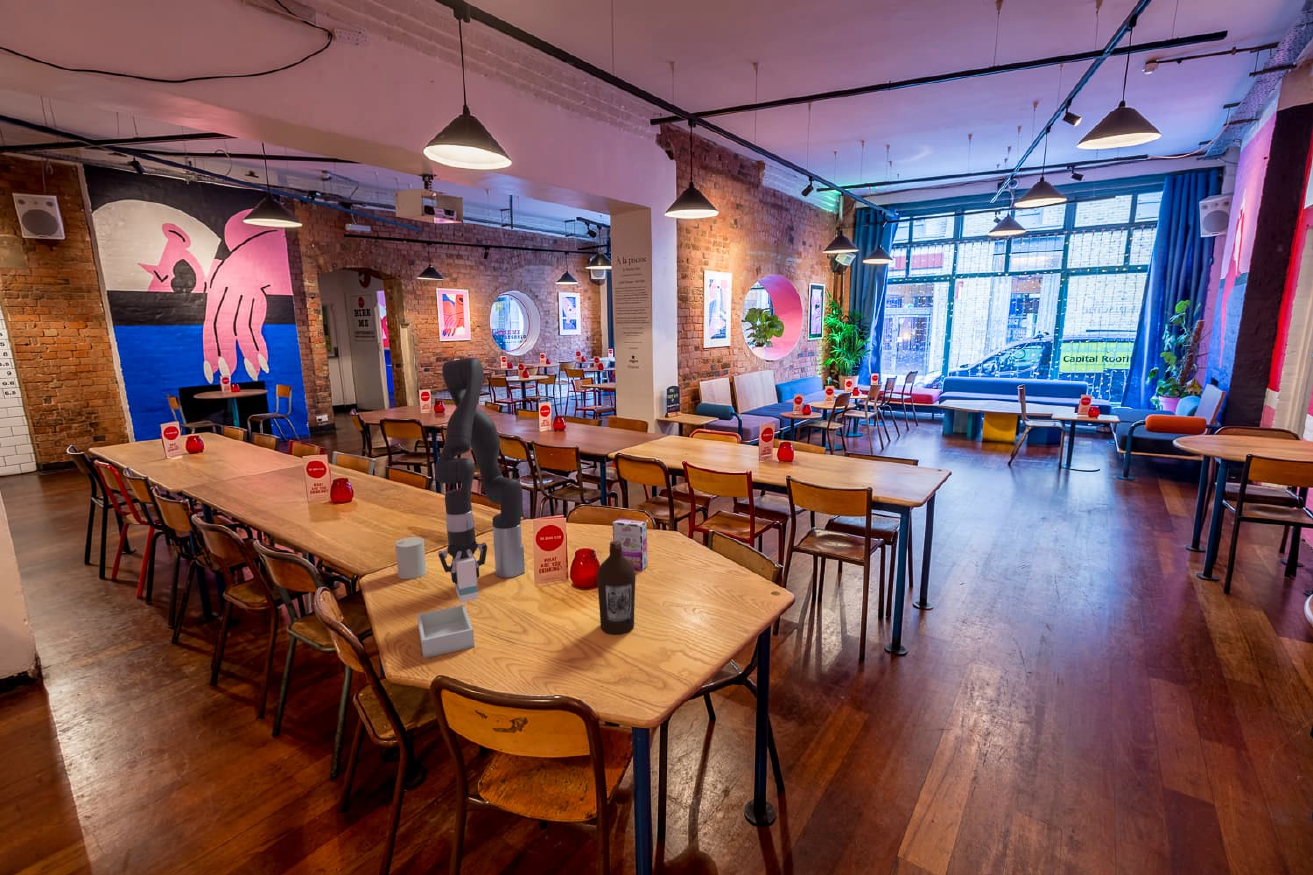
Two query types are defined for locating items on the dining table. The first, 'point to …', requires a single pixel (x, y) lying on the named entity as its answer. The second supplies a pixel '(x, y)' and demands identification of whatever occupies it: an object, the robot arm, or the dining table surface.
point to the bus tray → (445, 631)
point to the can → (410, 558)
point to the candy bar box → (632, 541)
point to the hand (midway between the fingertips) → (465, 580)
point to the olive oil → (616, 592)
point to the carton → (466, 579)
